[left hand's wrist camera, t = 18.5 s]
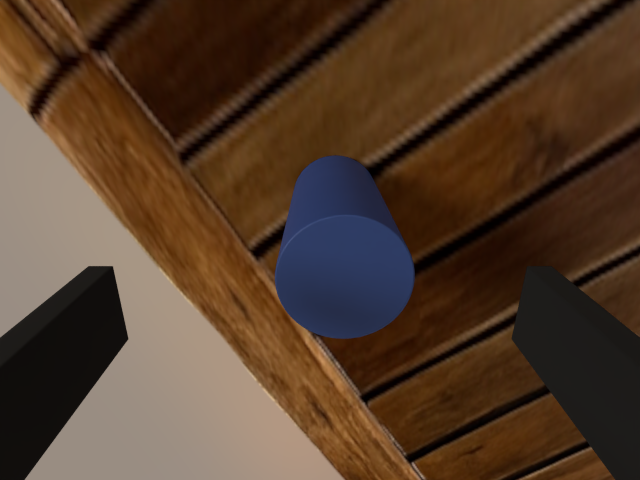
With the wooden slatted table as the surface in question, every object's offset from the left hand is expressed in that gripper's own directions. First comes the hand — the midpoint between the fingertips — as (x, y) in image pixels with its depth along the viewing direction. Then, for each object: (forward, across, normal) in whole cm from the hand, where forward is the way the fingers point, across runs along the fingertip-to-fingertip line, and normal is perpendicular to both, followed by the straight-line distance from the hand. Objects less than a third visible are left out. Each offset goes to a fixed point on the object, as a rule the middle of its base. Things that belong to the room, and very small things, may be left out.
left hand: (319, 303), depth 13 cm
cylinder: (+17, +1, -1) cm, 17 cm away
